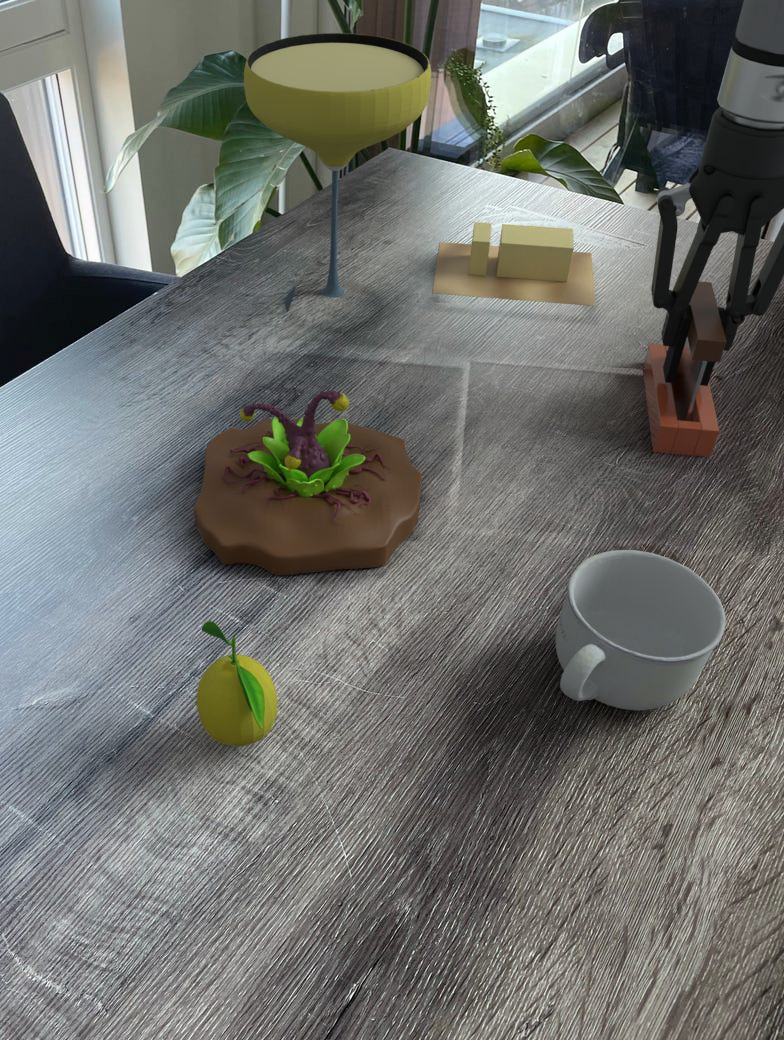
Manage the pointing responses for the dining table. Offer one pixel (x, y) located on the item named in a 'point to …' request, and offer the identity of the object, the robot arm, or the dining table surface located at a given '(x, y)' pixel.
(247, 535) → the plant
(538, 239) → the butter
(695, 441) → the knife stand
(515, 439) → the dining table surface
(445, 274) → the board
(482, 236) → the butter slice
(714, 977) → the dining table surface
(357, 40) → the cocktail glass
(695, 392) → the knife
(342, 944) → the dining table surface
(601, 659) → the teacup
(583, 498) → the dining table surface
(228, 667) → the lemon
